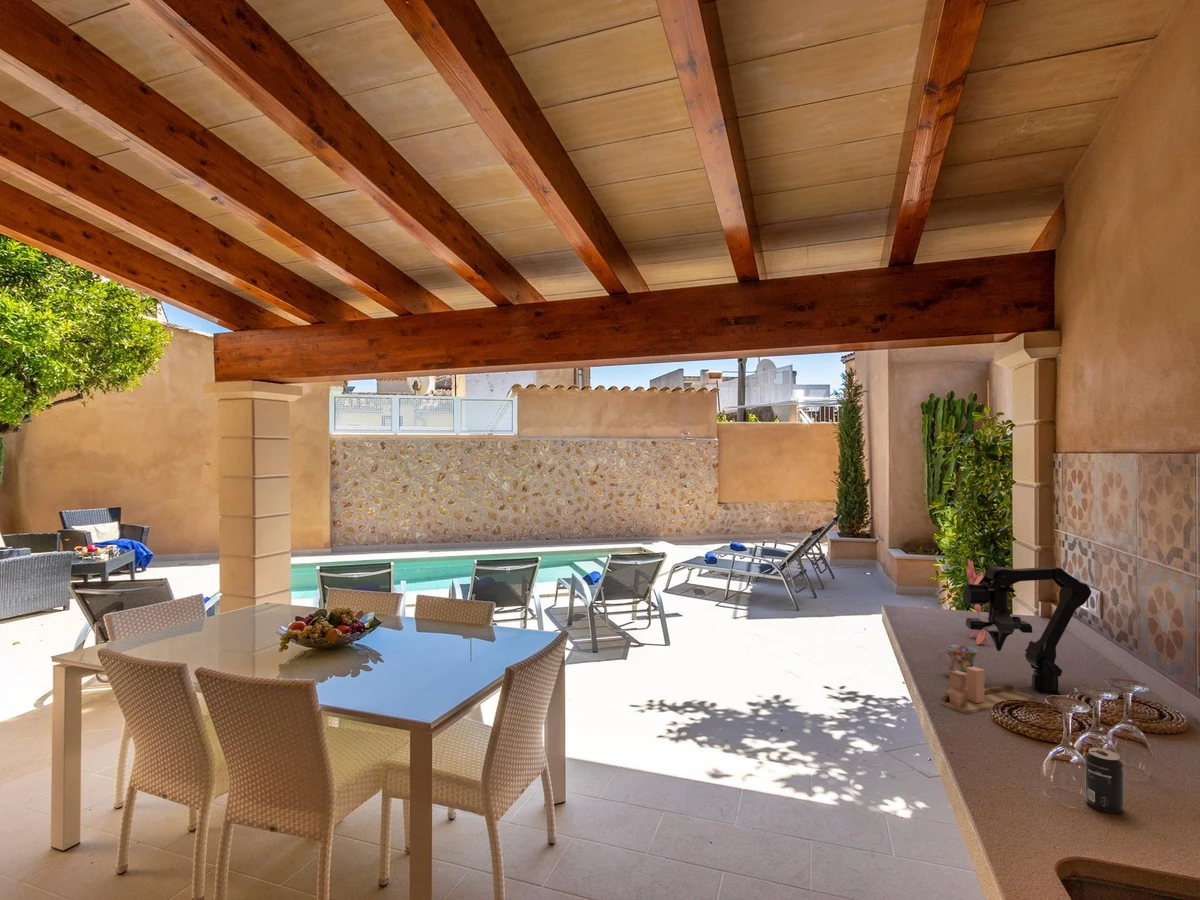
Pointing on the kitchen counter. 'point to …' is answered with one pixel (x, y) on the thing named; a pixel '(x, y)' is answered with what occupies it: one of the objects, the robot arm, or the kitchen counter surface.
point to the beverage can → (1104, 780)
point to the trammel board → (959, 702)
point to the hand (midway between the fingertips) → (998, 650)
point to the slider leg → (975, 684)
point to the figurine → (971, 578)
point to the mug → (960, 657)
